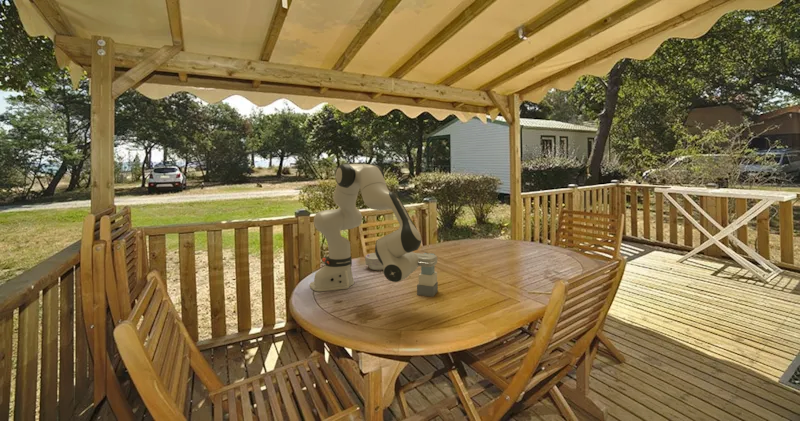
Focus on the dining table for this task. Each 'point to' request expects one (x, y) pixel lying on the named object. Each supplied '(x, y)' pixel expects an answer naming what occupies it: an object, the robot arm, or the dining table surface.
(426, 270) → the blue pillar
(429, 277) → the tower top
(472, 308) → the dining table surface
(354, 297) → the dining table surface
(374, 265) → the paper bowls
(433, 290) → the tower base
